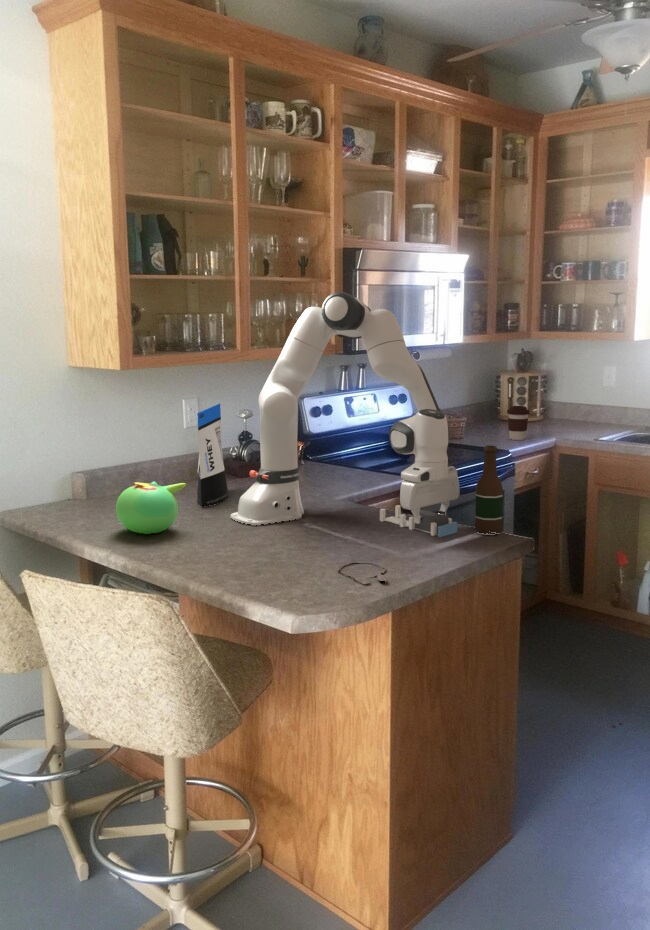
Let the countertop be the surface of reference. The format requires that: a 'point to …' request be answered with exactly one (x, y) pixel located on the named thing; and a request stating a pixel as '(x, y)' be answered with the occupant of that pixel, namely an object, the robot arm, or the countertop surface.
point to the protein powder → (210, 459)
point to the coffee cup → (517, 422)
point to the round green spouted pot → (148, 507)
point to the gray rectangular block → (431, 520)
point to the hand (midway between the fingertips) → (430, 519)
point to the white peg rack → (402, 521)
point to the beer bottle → (489, 496)
